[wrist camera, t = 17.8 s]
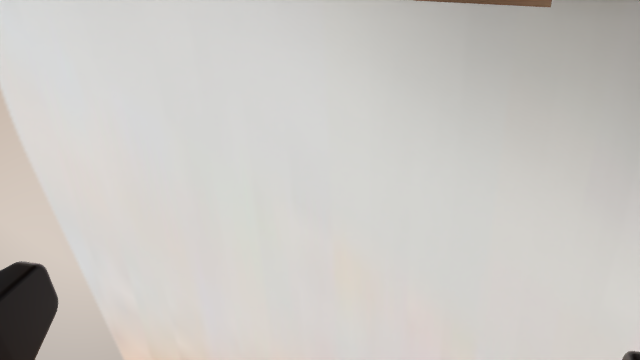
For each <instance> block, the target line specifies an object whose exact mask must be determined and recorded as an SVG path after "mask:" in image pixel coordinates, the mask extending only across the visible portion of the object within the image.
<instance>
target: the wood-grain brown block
mask: <svg viewBox="0 0 640 360" xmlns="http://www.w3.org/2000/svg"><path fill="white" fill-rule="evenodd" d="M416 1H436V2H456V3H476V4H496V5H516V6H536V7H551V2H552V0H416Z"/></svg>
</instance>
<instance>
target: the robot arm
mask: <svg viewBox="0 0 640 360" xmlns="http://www.w3.org/2000/svg"><path fill="white" fill-rule="evenodd" d="M57 308H58V297H57V294H56V292H55V289H54V287H53V284H52V282H51V279H50V277H49V274H48V272H47V270H46V268H45V267H44V266H43V265H41V264H37V263H29V262H16V263H14V264H12V265H10V266H8V267H6V268H5V269H3V270H1V271H0V360H35V358H36V355H37V354H38V351H39V349H40V347H41V345H42V343H43V340H44V338H45V336H46V334H47V332H48V330H49V327H50V325H51V323H52V321H53V319H54V317H55V314H56V312H57ZM622 360H640V352H636V351H629V352H627V353H626V354H625V355H624V357H623V359H622Z"/></svg>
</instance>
